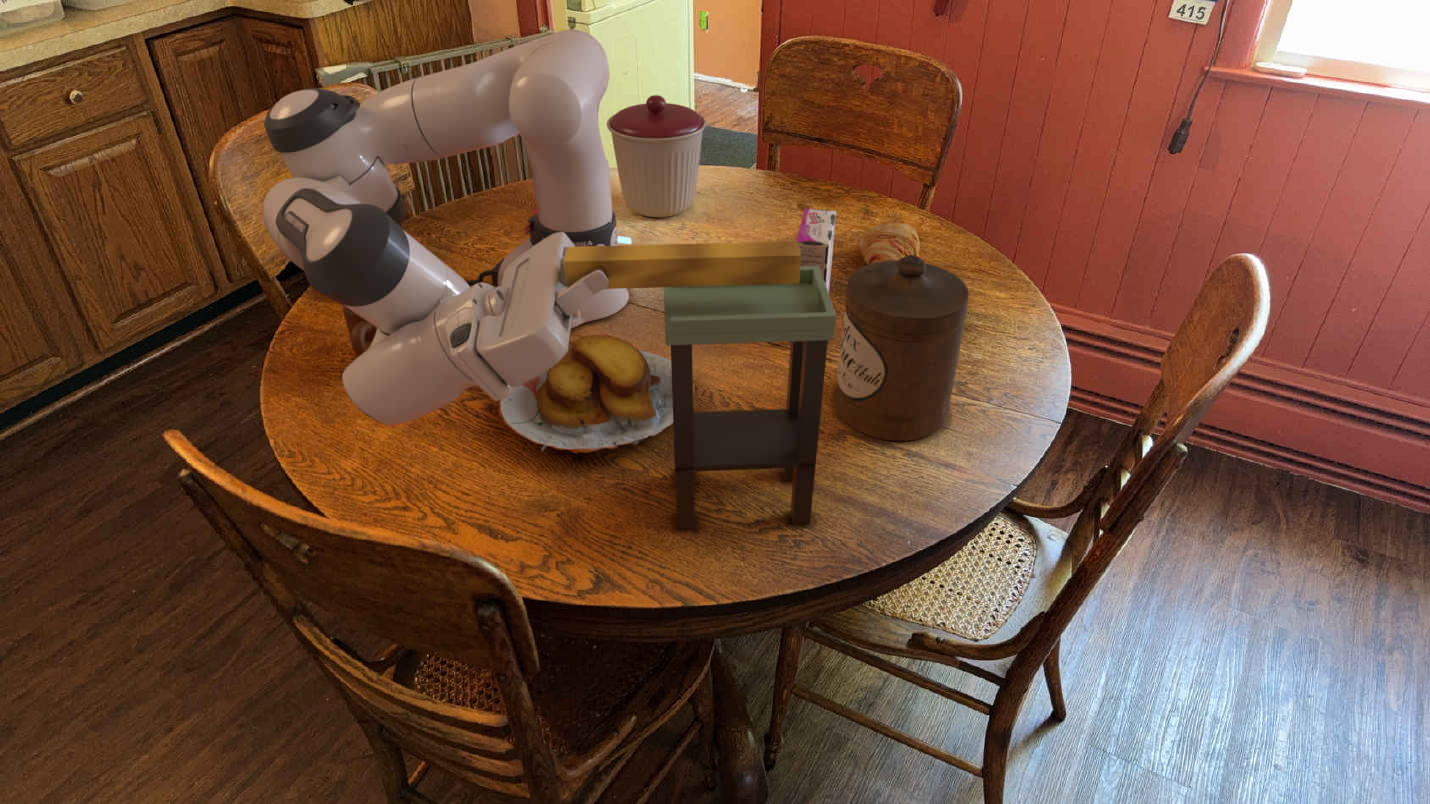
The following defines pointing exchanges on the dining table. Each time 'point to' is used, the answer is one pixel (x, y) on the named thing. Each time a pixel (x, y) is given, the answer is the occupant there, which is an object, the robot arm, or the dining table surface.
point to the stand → (750, 432)
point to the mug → (359, 331)
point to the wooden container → (899, 348)
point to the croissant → (889, 242)
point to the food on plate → (594, 398)
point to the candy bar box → (817, 240)
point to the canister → (657, 155)
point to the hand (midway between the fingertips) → (606, 263)
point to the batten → (688, 264)
